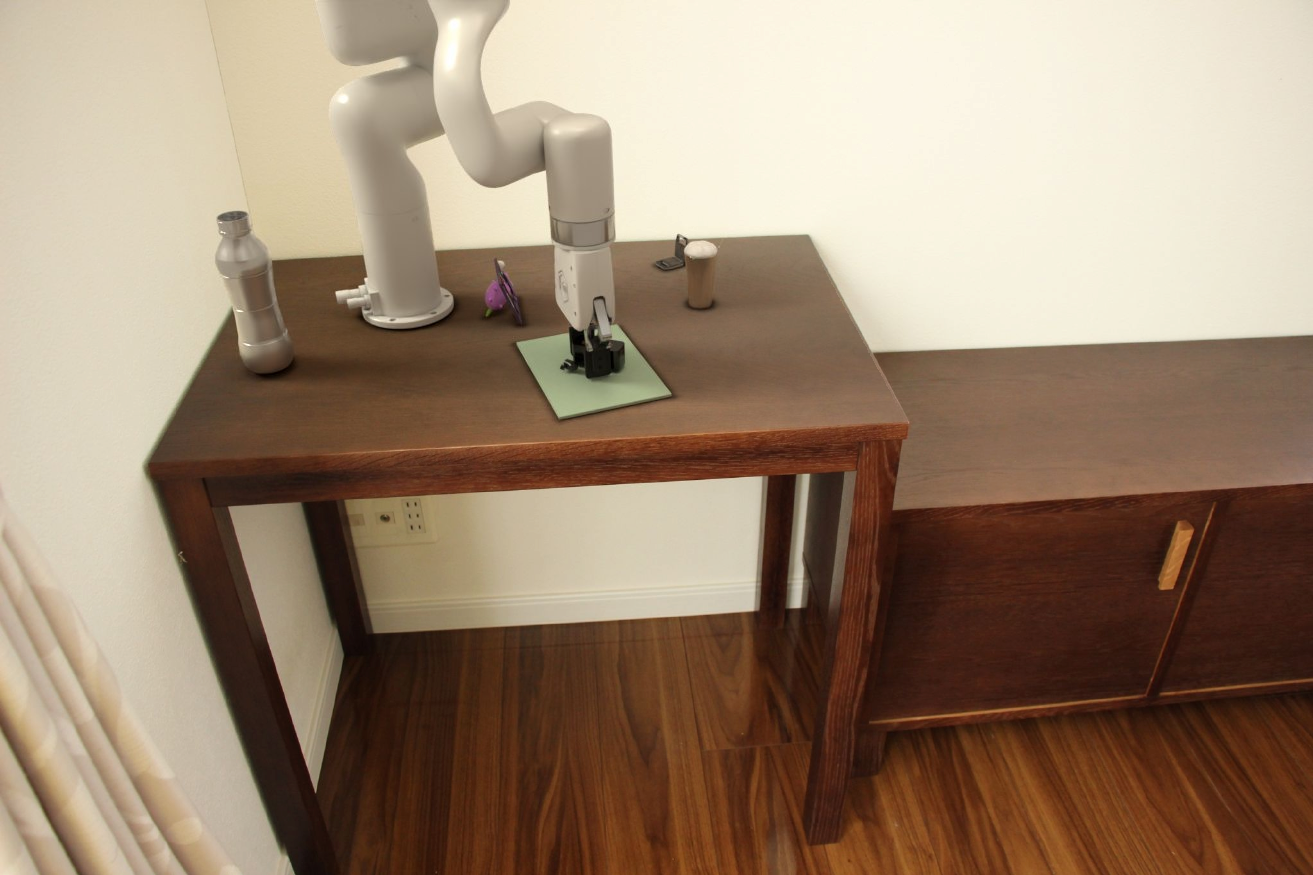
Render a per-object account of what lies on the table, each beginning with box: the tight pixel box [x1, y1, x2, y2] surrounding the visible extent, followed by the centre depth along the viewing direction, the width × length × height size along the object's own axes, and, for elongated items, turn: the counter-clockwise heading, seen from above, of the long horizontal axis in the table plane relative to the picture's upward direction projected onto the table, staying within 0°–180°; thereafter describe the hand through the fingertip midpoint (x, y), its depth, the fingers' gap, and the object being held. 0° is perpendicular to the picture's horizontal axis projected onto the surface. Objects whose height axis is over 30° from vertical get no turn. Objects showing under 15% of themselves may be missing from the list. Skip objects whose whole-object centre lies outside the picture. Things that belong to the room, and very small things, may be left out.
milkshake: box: [684, 238, 724, 309], centre depth 137 cm, size 4×5×10 cm
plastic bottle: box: [214, 210, 295, 375], centre depth 120 cm, size 6×7×20 cm
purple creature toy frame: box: [484, 257, 523, 326], centre depth 136 cm, size 7×5×9 cm
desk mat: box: [516, 323, 673, 421], centre depth 124 cm, size 14×20×1 cm
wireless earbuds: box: [560, 335, 625, 373], centre depth 122 cm, size 5×7×3 cm, turn 70°
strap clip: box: [654, 233, 690, 270], centre depth 151 cm, size 8×3×4 cm, turn 123°
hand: (590, 363), depth 123 cm, fingers open, 5 cm apart
